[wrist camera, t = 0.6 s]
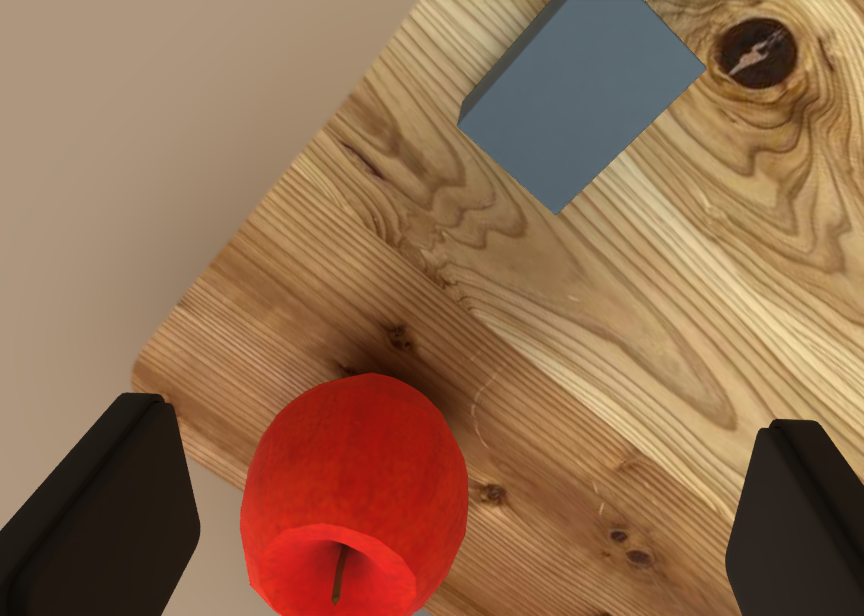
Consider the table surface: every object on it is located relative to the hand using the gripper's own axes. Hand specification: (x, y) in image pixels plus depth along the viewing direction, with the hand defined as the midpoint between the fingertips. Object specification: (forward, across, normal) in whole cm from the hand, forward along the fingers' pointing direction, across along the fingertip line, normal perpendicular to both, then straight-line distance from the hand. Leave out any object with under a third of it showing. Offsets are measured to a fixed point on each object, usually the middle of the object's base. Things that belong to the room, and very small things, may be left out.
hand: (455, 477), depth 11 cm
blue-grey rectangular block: (+20, -3, -3) cm, 21 cm away
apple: (+20, +5, +13) cm, 25 cm away
